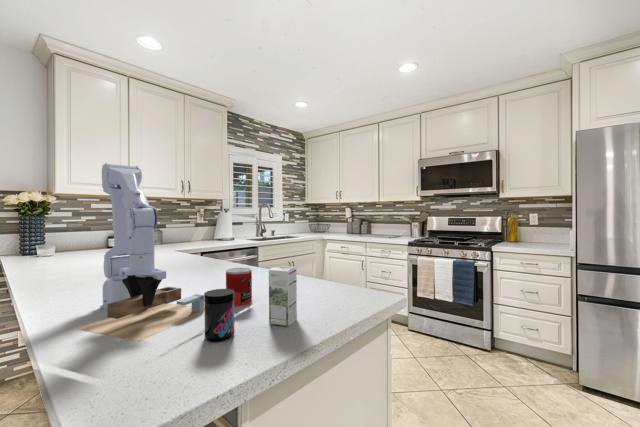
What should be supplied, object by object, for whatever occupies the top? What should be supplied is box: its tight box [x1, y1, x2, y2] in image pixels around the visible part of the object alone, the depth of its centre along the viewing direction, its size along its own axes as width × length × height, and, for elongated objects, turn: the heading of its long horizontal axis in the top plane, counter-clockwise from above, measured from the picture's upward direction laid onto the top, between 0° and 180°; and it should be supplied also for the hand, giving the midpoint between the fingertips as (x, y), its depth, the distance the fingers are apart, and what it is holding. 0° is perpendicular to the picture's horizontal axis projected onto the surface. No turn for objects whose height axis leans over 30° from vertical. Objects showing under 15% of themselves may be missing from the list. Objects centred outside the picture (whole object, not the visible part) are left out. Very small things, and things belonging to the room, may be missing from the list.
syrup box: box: [268, 265, 298, 328], centre depth 79 cm, size 6×6×14 cm
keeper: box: [176, 293, 204, 313], centre depth 83 cm, size 3×7×4 cm, turn 160°
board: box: [76, 303, 204, 342], centre depth 80 cm, size 21×23×1 cm
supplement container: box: [203, 288, 235, 343], centre depth 70 cm, size 7×7×10 cm
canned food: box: [225, 267, 253, 307], centre depth 94 cm, size 8×8×11 cm
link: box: [107, 286, 182, 319], centre depth 80 cm, size 19×5×3 cm, turn 160°
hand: (142, 304), depth 79 cm, fingers closed on link, 3 cm apart
